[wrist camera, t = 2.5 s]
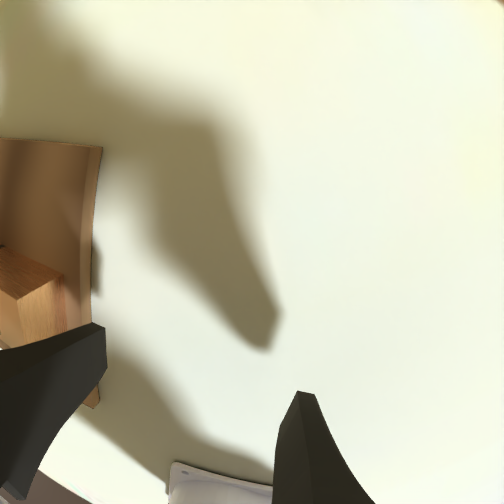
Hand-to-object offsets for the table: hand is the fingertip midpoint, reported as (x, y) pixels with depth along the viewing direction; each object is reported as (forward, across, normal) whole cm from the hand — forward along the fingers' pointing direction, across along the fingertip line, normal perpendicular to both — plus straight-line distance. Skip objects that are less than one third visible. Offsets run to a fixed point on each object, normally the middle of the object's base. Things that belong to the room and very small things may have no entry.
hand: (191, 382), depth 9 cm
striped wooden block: (+2, +12, 0) cm, 12 cm away
